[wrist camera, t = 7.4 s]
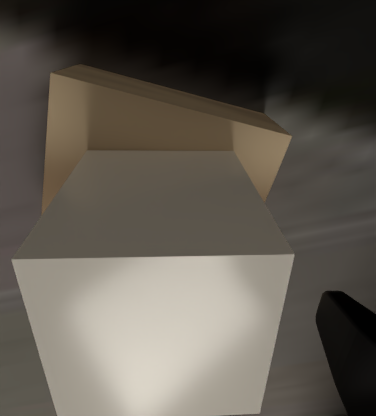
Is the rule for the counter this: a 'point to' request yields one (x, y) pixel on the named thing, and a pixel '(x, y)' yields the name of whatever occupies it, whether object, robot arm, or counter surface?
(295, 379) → the counter surface
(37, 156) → the counter surface
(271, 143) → the oak block
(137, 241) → the ceramic cube
